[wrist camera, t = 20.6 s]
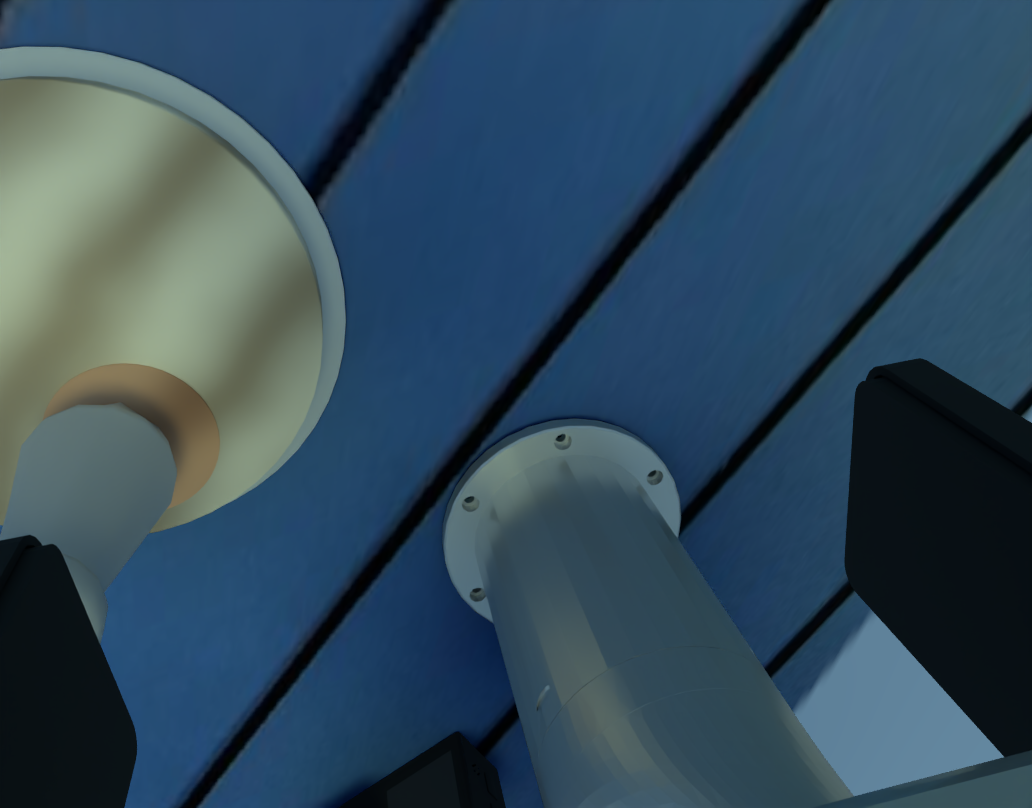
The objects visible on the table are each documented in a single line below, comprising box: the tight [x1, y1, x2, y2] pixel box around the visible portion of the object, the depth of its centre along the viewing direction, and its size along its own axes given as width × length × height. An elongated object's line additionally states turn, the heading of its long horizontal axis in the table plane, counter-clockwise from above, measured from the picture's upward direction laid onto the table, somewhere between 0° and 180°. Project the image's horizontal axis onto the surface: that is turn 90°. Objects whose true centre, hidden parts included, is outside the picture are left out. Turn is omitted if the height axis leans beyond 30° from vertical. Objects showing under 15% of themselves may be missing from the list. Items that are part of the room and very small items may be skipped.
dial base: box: [0, 47, 346, 503], centre depth 37 cm, size 21×21×1 cm
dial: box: [0, 76, 323, 533], centre depth 33 cm, size 19×19×7 cm
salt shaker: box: [0, 402, 177, 643], centre depth 31 cm, size 6×6×13 cm
